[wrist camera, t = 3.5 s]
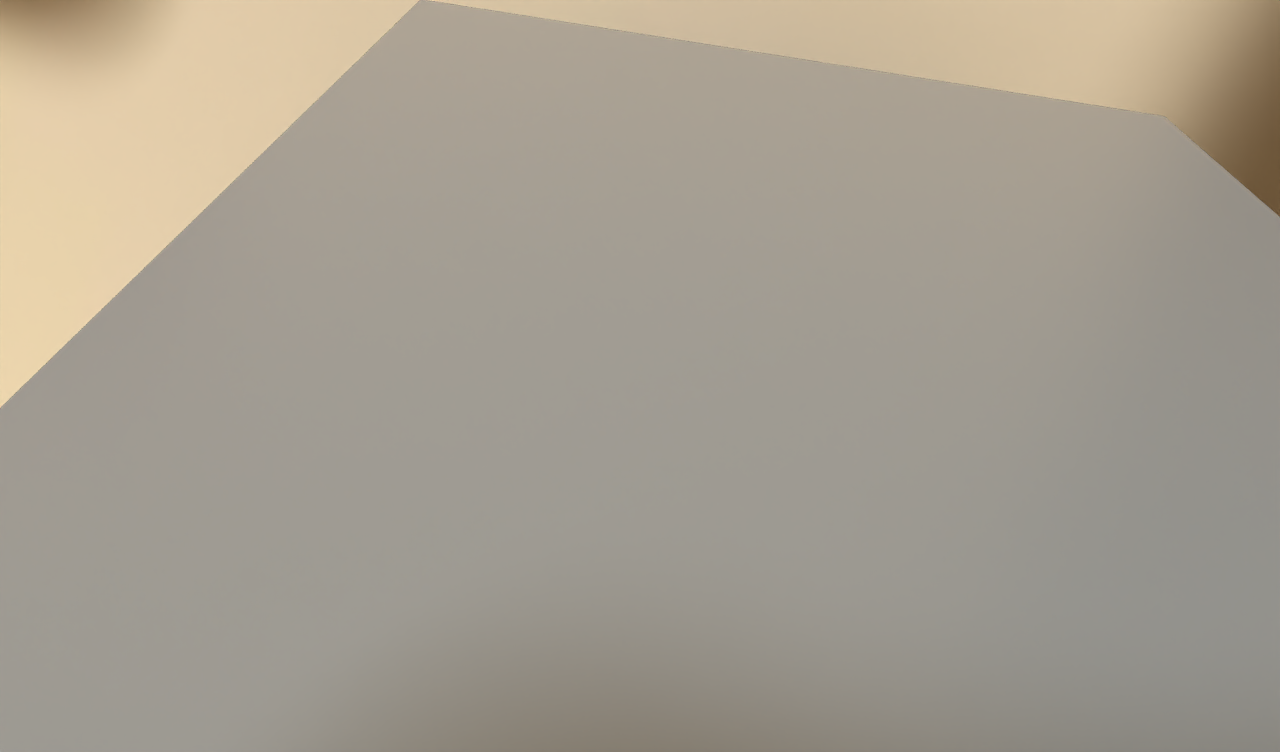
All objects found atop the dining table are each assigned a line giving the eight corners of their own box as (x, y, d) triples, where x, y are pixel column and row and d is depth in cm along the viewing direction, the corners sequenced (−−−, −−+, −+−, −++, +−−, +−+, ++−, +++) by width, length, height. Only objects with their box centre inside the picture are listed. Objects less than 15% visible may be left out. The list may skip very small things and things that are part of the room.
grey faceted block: (1163, 115, 9) (2823, 1569, 2) (918, 587, 14) (1141, 1509, 7) (421, -1, 9) (-782, 1169, 2) (432, 520, 13) (128, 1399, 6)
